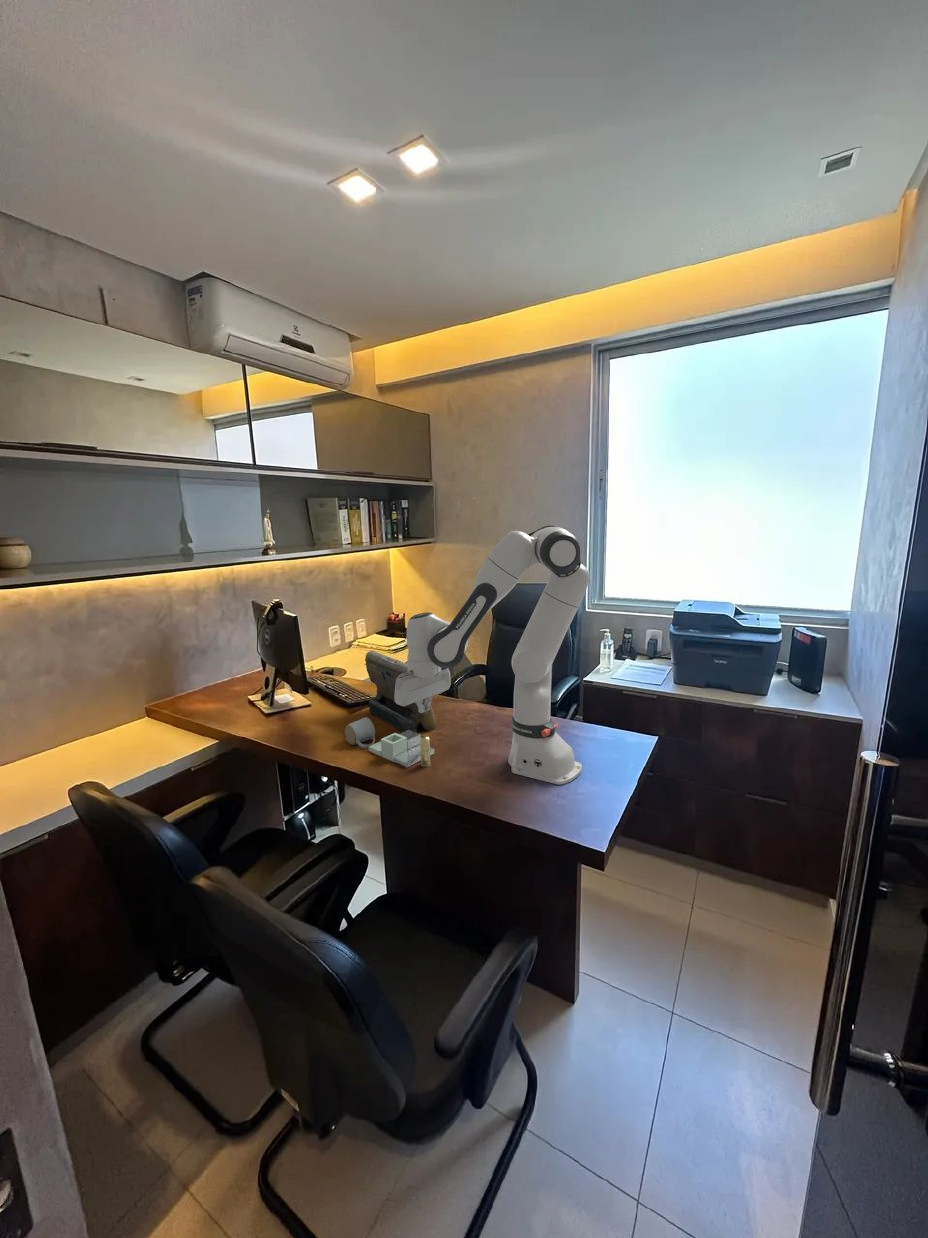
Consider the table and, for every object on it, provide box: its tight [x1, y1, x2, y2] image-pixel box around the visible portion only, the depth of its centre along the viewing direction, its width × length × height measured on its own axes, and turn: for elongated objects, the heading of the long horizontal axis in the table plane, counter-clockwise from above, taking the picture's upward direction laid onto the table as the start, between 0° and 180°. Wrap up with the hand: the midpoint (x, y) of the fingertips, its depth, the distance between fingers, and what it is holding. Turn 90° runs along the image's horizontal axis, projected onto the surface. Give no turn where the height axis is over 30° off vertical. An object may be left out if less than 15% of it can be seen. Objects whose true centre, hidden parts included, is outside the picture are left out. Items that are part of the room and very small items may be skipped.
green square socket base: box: [368, 732, 407, 763], centre depth 160 cm, size 12×12×6 cm
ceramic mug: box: [344, 716, 376, 749], centre depth 165 cm, size 11×8×8 cm
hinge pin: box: [420, 735, 431, 768], centre depth 149 cm, size 3×3×9 cm
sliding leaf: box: [393, 730, 435, 768], centre depth 156 cm, size 12×12×5 cm
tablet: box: [364, 650, 437, 733], centre depth 182 cm, size 33×14×25 cm, turn 45°
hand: (424, 711), depth 147 cm, fingers closed
